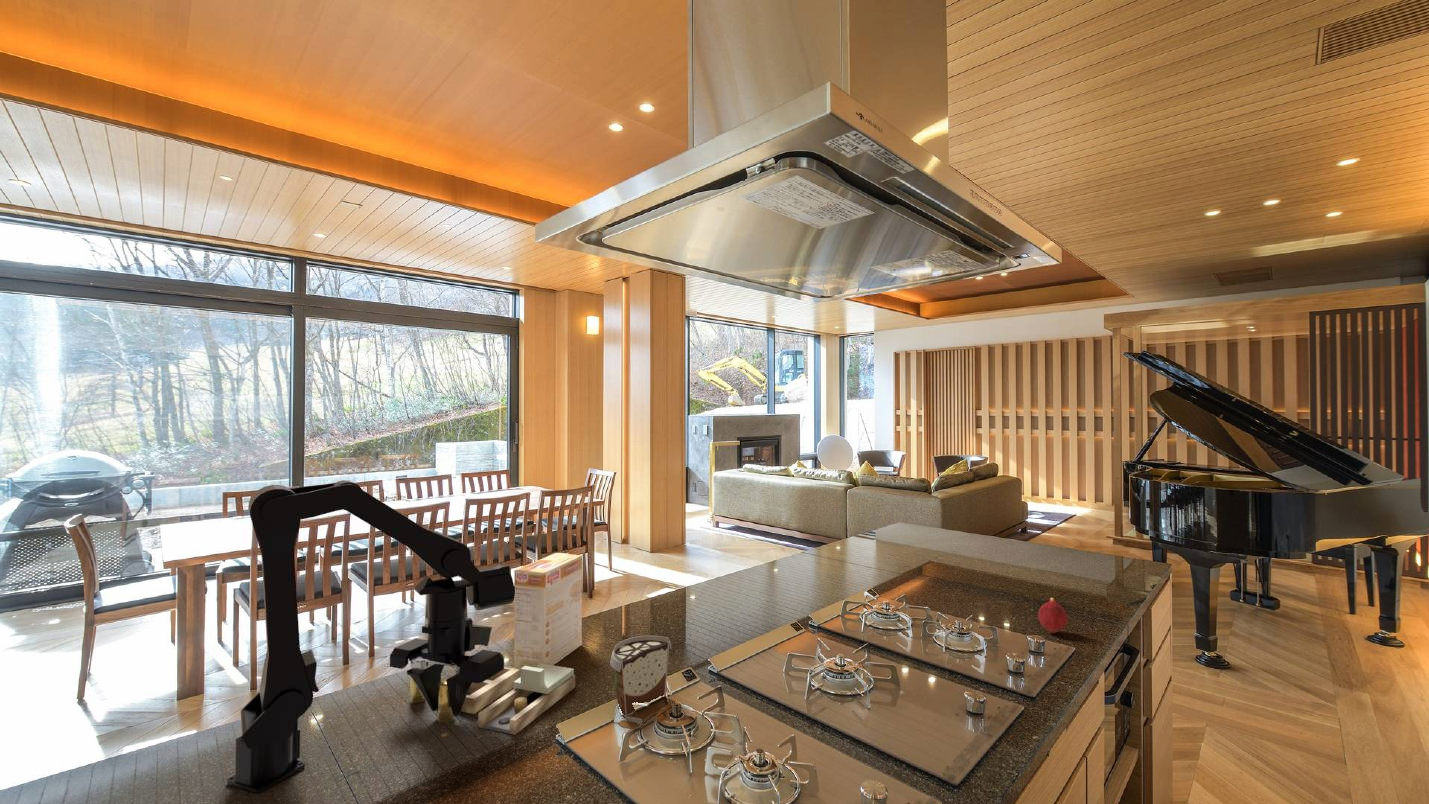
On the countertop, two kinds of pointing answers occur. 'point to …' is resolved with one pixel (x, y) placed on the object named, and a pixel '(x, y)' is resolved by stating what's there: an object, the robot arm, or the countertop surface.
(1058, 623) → the onion
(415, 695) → the pin
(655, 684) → the food container
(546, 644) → the coffeecake box
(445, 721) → the pin
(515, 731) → the housing
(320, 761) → the countertop surface
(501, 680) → the socket board
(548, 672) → the lid
